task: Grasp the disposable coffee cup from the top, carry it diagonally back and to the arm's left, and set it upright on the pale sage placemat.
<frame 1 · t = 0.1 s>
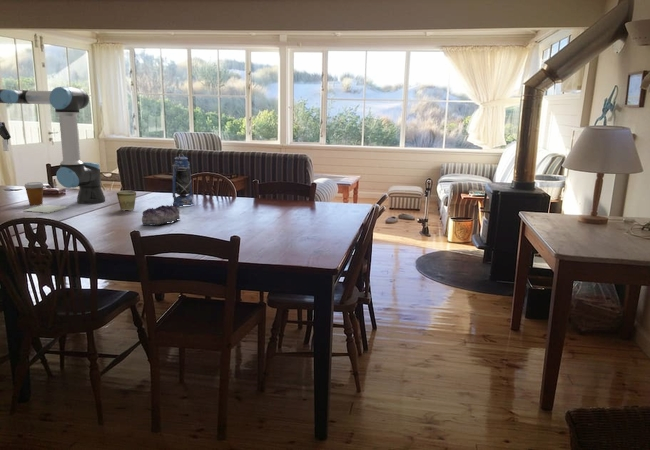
yellow green plant pot: (129, 209, 274), on the table
geode: (162, 223, 246), on the table
sage placemat: (46, 209, 268), on the table
lantern: (183, 205, 291), on the table
disposable coffee cup: (36, 204, 280), on the table
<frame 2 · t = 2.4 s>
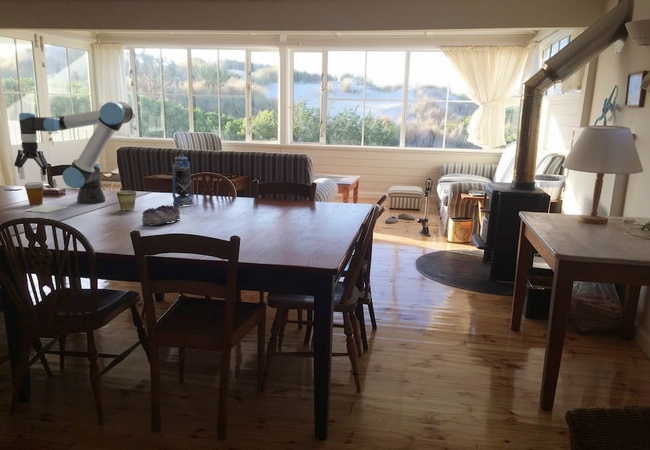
hand: (32, 180, 277), 14 cm above the table, fingers open, 13 cm apart
nothing on the table moved.
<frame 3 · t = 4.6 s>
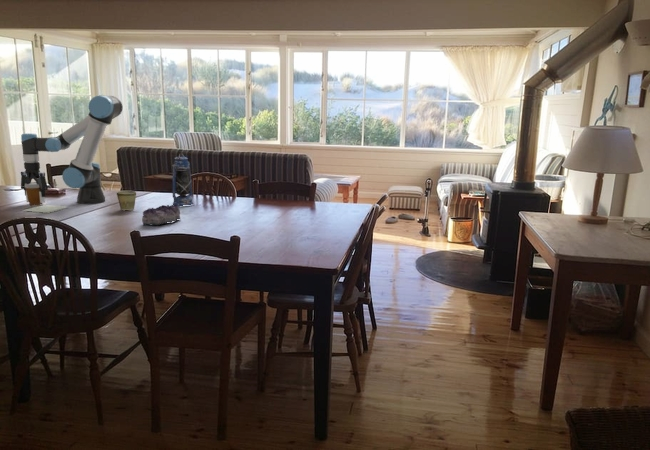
hand: (35, 202, 280), 1 cm above the table, fingers closed on disposable coffee cup, 8 cm apart
disposable coffee cup: (36, 204, 280), on the table, touching gripper
everything else where it was.
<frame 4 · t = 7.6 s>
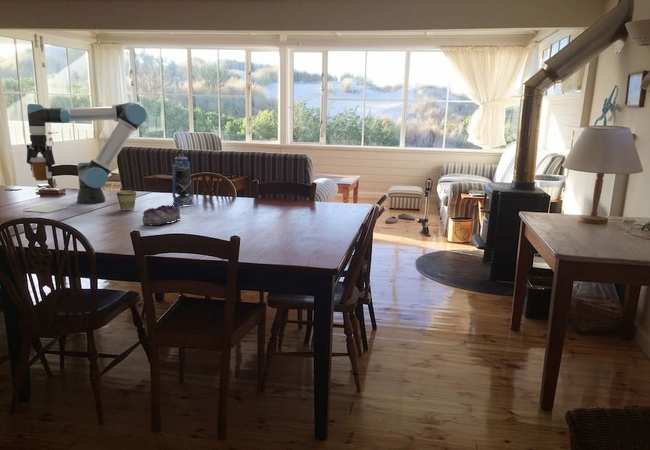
hand: (42, 177, 264), 17 cm above the table, fingers closed on disposable coffee cup, 8 cm apart
disposable coffee cup: (42, 180, 264), point 16 cm above the table, touching gripper
everything else where it was.
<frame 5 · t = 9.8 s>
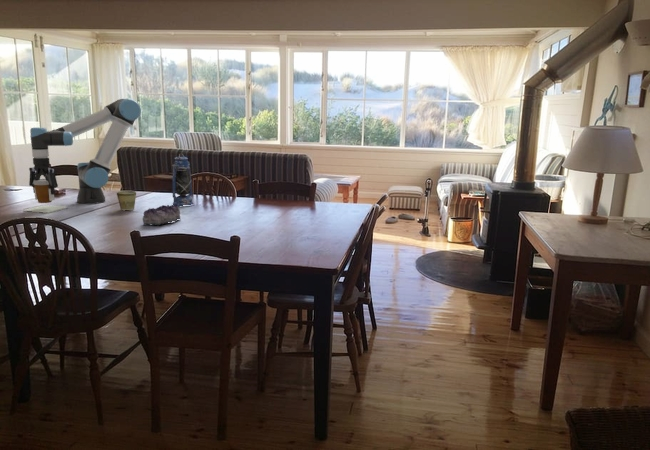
hand: (44, 199, 266), 5 cm above the table, fingers closed on disposable coffee cup, 8 cm apart
disposable coffee cup: (45, 202, 267), point 4 cm above the table, touching gripper
everything else where it was.
when the fingers open (3 cm above the table, at t = 11.2 s): disposable coffee cup drops 1 cm, resting on sage placemat.
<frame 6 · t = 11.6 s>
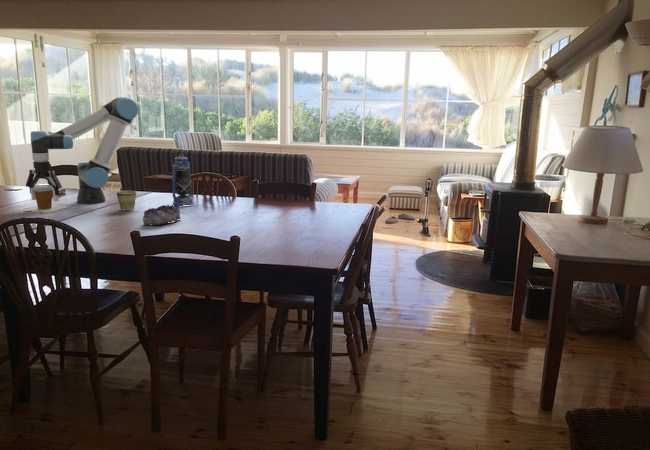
hand: (45, 200, 266), 5 cm above the table, fingers open, 13 cm apart
disposable coffee cup: (44, 208, 268), resting on sage placemat
everything else where it was.
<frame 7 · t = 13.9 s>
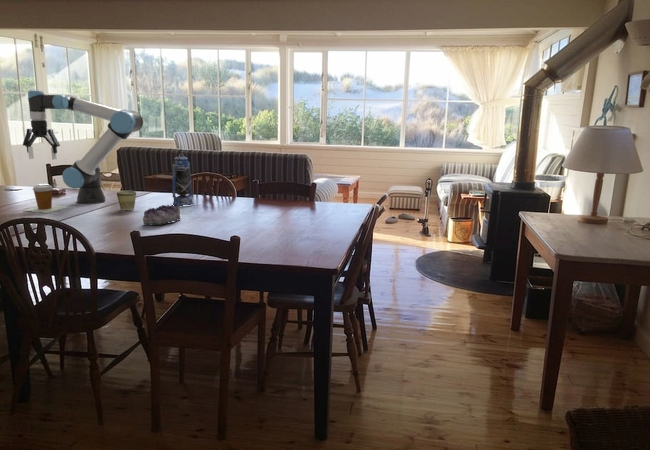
hand: (42, 159, 274), 26 cm above the table, fingers open, 13 cm apart
nothing on the table moved.
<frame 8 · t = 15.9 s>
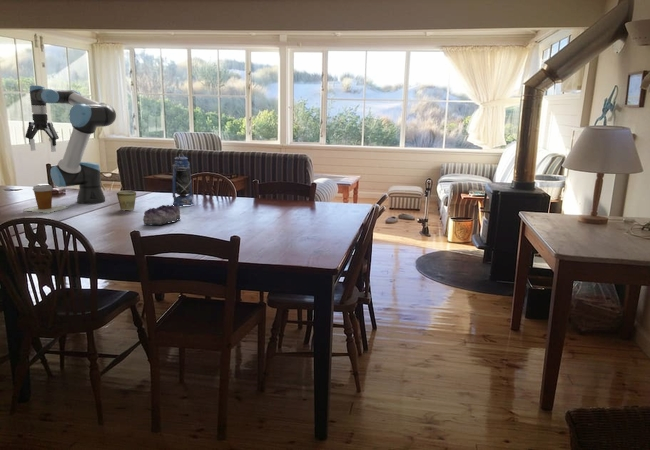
hand: (43, 151, 288), 29 cm above the table, fingers open, 13 cm apart
nothing on the table moved.
at the end: disposable coffee cup inside the target area on the sage placemat (0.7 cm from its centre), point 0.4 cm above the sage placemat's base; disposable coffee cup tilted 0°; the gripper is holding nothing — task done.
